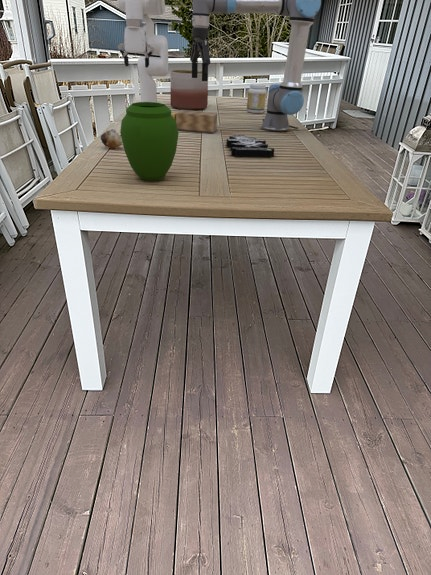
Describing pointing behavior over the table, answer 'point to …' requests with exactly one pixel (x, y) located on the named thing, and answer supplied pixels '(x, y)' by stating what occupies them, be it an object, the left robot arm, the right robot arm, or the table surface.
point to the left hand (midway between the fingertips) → (136, 66)
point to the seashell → (111, 139)
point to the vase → (149, 139)
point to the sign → (248, 147)
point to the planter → (188, 90)
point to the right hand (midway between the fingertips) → (199, 79)
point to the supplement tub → (256, 98)
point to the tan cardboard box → (196, 121)
